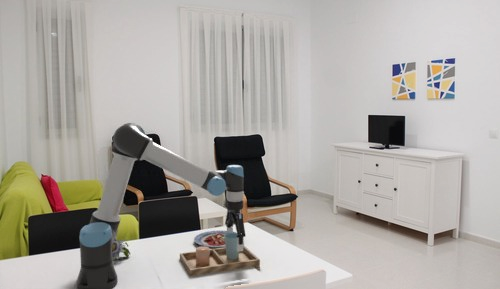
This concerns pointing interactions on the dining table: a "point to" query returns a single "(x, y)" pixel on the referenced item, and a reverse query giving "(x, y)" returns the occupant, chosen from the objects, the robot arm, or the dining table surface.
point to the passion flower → (119, 249)
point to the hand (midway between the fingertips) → (234, 246)
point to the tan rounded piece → (202, 256)
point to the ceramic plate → (211, 238)
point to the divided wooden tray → (219, 261)
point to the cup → (231, 246)
